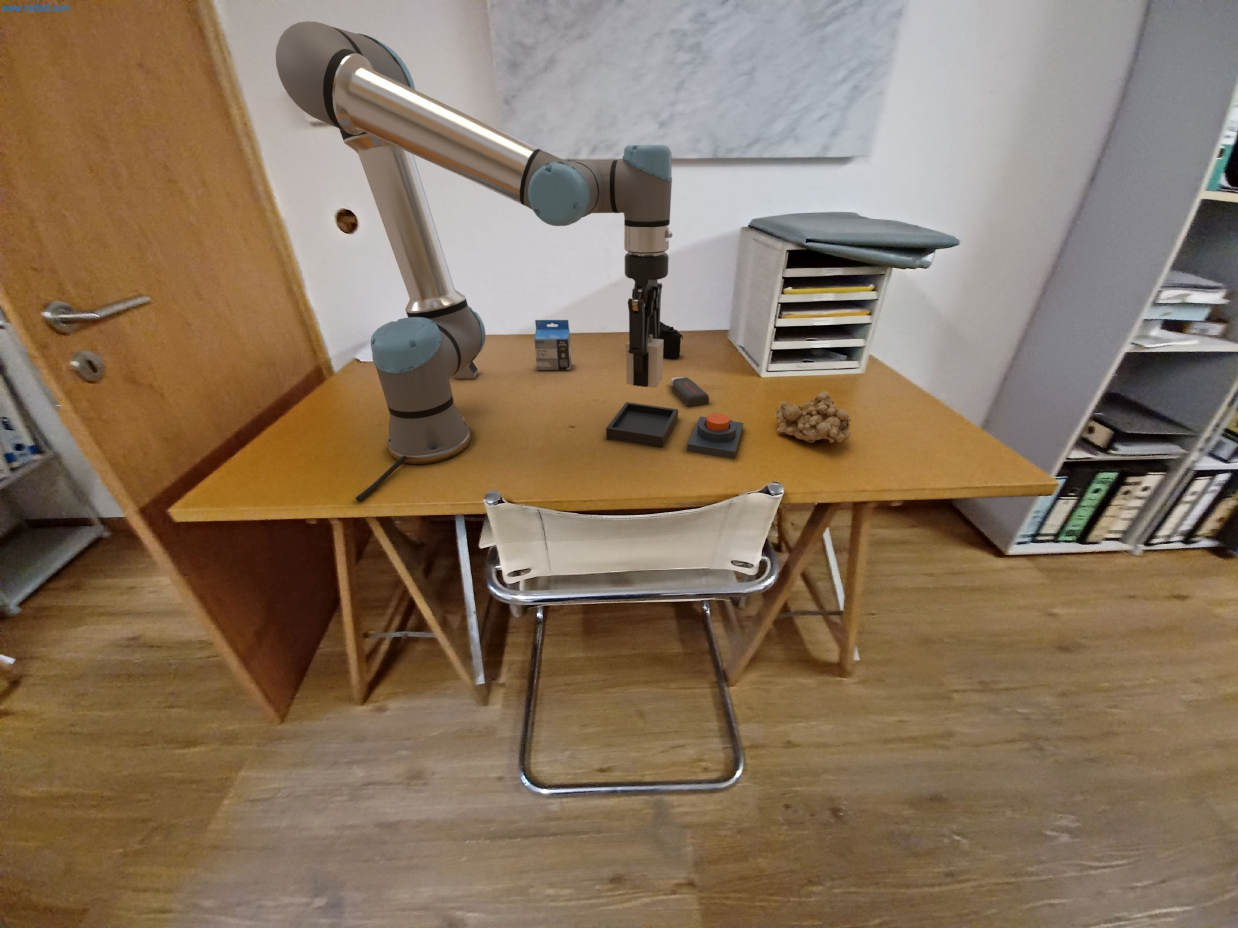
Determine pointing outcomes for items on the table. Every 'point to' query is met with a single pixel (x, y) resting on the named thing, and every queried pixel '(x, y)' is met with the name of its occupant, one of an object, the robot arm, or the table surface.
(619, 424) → the cradle
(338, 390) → the table surface
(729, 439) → the switch block
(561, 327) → the label tape box
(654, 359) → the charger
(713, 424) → the button
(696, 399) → the usb drive
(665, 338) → the film camera
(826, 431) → the mineral formation
